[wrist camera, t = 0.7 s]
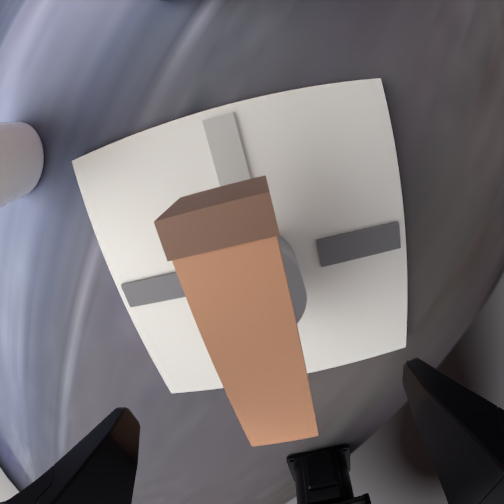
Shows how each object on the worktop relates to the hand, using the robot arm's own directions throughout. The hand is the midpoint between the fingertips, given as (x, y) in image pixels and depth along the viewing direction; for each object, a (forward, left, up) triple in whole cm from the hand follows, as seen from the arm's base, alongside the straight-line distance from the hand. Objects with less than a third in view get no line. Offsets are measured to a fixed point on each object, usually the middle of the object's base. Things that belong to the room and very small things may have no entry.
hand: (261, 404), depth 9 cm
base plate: (0, 0, -11) cm, 11 cm away
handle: (0, 0, -6) cm, 6 cm away
